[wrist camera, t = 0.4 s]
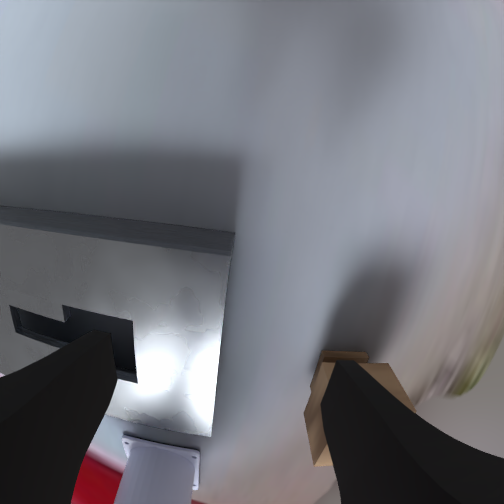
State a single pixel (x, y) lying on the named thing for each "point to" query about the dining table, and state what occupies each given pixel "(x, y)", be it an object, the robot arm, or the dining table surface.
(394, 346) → the dining table surface
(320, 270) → the dining table surface
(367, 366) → the peg
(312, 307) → the dining table surface
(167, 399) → the grey slotted base block
